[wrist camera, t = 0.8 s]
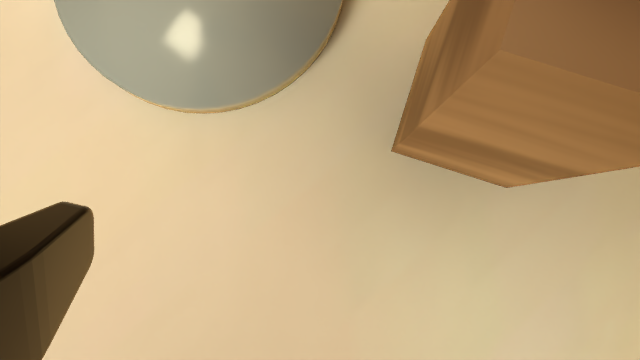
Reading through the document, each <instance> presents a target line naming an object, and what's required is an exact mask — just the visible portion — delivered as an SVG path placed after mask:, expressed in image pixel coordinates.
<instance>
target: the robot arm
mask: <svg viewBox="0 0 640 360" xmlns="http://www.w3.org/2000/svg"><path fill="white" fill-rule="evenodd" d="M93 256H94V217H93V212H92V210H91V209H90V208H89V207H86V206H82V205H78V204H73V203H69V202H60V203H56V204H54V205H51V206H49V207H46V208H44V209H41V210H39V211H36V212H34V213H31V214H28V215H26V216H23V217H21V218H18V219H16V220H13V221H11V222H8V223H6V224H3V225H1V226H0V360H42V358H43V357H44V355H45V353H46V351H47V349H48V347H49V346H50V344H51V342H52V340H53V338H54V336H55V334H56V332H57V330H58V328H59V326H60V324H61V322H62V320H63V318H64V316H65V315H66V313H67V311H68V309H69V307H70V305H71V303H72V301H73V299H74V297H75V295H76V293H77V291H78V289H79V287H80V285H81V283H82V281H83V279H84V277H85V275H86V274H87V272H88V270H89V268H90V265H91V263H92V260H93Z"/></svg>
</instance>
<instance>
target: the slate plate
mask: <svg viewBox="0 0 640 360" xmlns="http://www.w3.org/2000/svg"><path fill="white" fill-rule="evenodd" d="M54 2H55V5H56V8H57V11H58V15H59V17H60V19H61V22H62V24H63V26H64V28H65V30H66V32H67V34H68V36H69V37H70V39H71V40H72V42H73V43H74V45H75V46H76V48H77V50H78V51H79V52H80V53H81V54H82V55H83V56H84V58H85V59H86V60H87V61H88V62H89V63H90V64H91V65H92V66H93V67H94V68H95V69H96V70H97V71H99V72H100V73H101V74H102V75H103V76H104V77H106V78H107V79H109V80H110V81H112V82H113V83H115V84H116V85H118V86H119V87H121V88H122V89H124V90H125V91H127V92H128V93H130V94H131V95H133V96H135V97H137V98H139V99H141V100H144V101H146V102H148V103H150V104H153V105H156V106H159V107H162V108H165V109H169V110H175V111H180V112H185V113H202V114H205V113H219V112H226V111H231V110H236V109H241V108H244V107H247V106H250V105H253V104H256V103H259V102H261V101H263V100H265V99H267V98H269V97H271V96H273V95H275V94H276V93H278V92H279V91H281V90H283V89H284V88H286V87H287V86H289V85H290V84H291V83H293V82H294V81H295V80H296V79H297V78H298V77H299V76H301V75H302V74H303V73H304V72H305V71H306V70H307V69H308V68H309V67H310V65H311V64H312V63H313V62H314V61H315V60H316V59H317V57H318V56H319V54H320V53H321V51H322V50H323V48H324V47H325V46H326V44H327V42H328V40H329V38H330V36H331V34H332V32H333V30H334V28H335V26H336V23H337V20H338V17H339V14H340V11H341V8H342V2H343V0H54Z"/></svg>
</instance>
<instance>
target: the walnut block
mask: <svg viewBox="0 0 640 360" xmlns="http://www.w3.org/2000/svg"><path fill="white" fill-rule="evenodd" d="M391 151H392V152H396V153H399V154H402V155H405V156H408V157H411V158H414V159H418V160H421V161H424V162H427V163H430V164H433V165H437V166H440V167H443V168H446V169H449V170H452V171H455V172H459V173H462V174H465V175H468V176H471V177H474V178H477V179H481V180H484V181H487V182H490V183H493V184H496V185H499V186H503V187H506V188H508V187H514V186H521V185H527V184H533V183H539V182H546V181H552V180H558V179H564V178H570V177H577V176H583V175H589V174H595V173H602V172H608V171H614V170H620V169H627V168H633V167H639V166H640V0H449V2H448V4H447V5H446V7H445V9H444V10H443V12H442V14H441V16H440V17H439V19H438V21H437V22H436V24H435V26H434V27H433V29H432V31H431V32H430V34H429V36H428V37H427V39H426V42H425V45H424V48H423V51H422V54H421V58H420V61H419V64H418V67H417V70H416V74H415V77H414V80H413V83H412V86H411V90H410V93H409V96H408V99H407V102H406V105H405V109H404V112H403V115H402V118H401V121H400V125H399V128H398V131H397V134H396V137H395V141H394V144H393V147H392V150H391Z"/></svg>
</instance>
